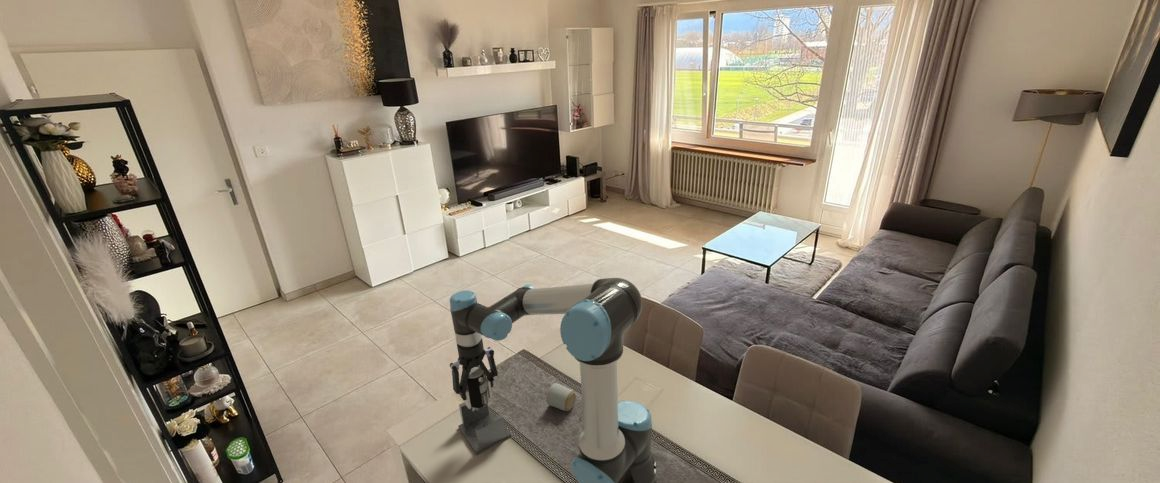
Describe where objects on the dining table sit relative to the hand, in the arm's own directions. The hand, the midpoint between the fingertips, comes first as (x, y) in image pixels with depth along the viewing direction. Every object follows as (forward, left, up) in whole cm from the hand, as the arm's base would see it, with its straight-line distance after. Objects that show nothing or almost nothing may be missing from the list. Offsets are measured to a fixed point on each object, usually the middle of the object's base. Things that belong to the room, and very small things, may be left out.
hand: (479, 400), depth 151 cm
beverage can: (0, 0, -1) cm, 1 cm away
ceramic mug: (-5, -28, -13) cm, 31 cm away
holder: (0, 0, -13) cm, 13 cm away
